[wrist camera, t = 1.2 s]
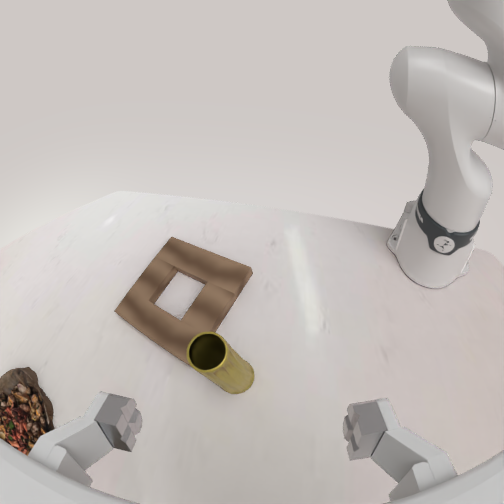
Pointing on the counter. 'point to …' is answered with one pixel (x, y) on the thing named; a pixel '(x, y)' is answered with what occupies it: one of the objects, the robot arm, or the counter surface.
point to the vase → (219, 362)
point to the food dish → (23, 409)
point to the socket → (202, 309)
